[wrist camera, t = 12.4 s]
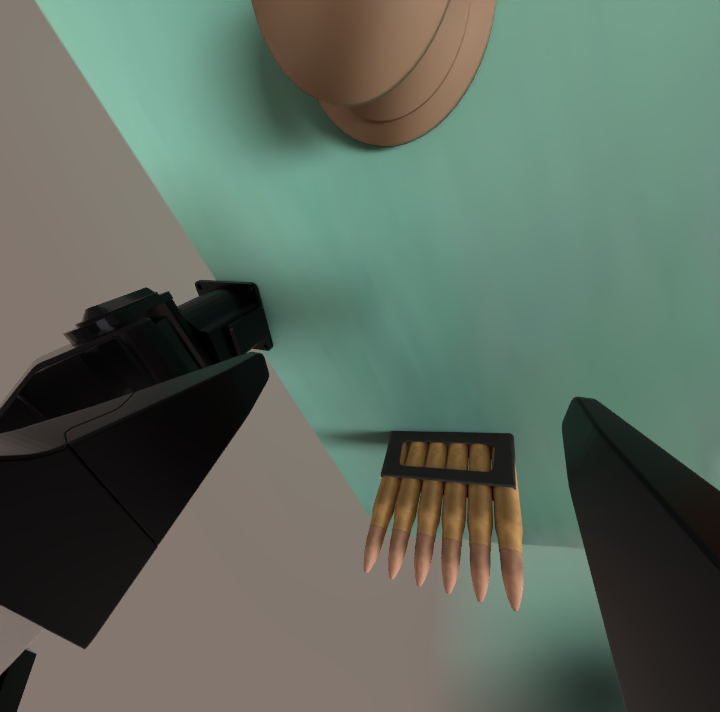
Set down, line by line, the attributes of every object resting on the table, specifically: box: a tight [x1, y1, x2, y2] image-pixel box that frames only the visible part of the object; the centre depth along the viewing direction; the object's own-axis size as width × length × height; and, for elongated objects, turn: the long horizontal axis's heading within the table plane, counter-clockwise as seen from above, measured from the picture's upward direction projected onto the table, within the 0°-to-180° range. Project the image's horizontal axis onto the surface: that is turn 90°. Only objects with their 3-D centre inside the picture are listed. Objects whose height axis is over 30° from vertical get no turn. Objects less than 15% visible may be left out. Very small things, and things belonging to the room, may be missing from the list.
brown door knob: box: [251, 0, 496, 146], centre depth 11 cm, size 9×9×6 cm
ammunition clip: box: [364, 431, 523, 612], centre depth 22 cm, size 11×2×12 cm, turn 108°
